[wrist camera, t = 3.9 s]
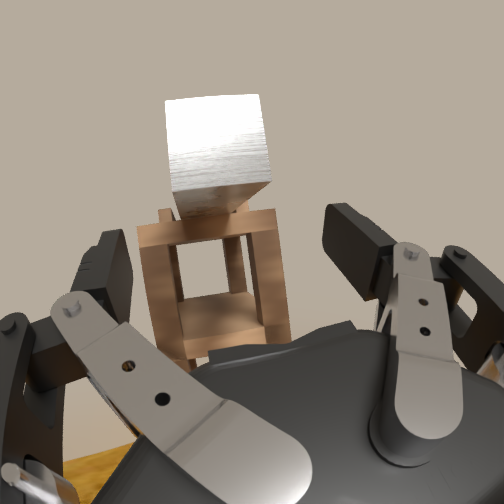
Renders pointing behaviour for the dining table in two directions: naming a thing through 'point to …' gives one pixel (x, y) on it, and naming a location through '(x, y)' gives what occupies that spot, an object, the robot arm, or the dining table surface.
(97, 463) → the dining table surface
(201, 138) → the bar
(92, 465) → the dining table surface
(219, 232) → the walnut shelf
